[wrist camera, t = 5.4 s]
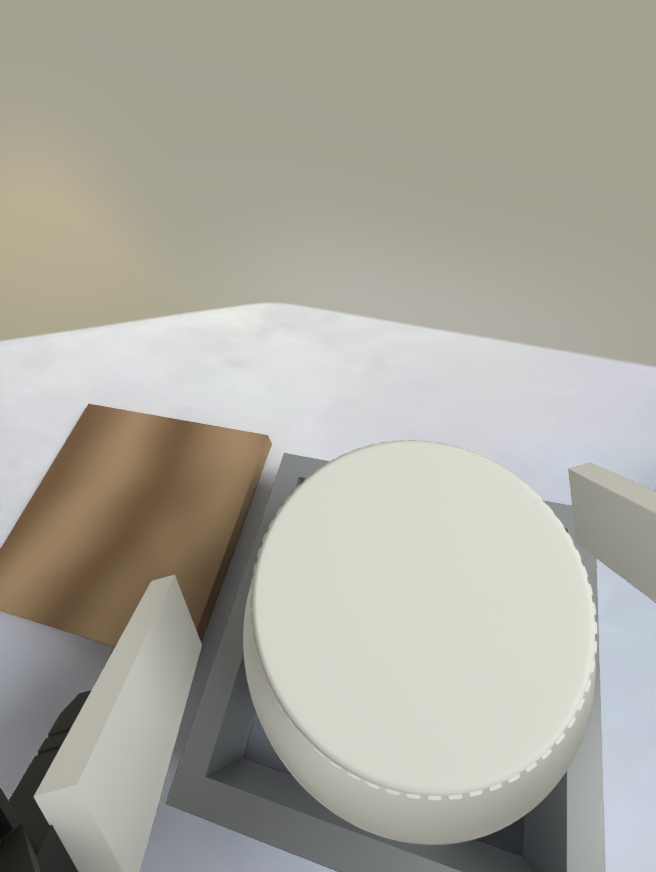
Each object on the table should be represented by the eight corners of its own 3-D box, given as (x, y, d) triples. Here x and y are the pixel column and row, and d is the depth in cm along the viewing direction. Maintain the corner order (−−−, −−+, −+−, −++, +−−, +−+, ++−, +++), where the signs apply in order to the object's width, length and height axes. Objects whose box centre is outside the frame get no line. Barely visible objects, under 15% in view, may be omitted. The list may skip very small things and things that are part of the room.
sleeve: (212, 778, 18) (165, 803, 14) (300, 490, 24) (284, 453, 20) (551, 904, 15) (608, 978, 11) (556, 542, 21) (595, 510, 17)
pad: (-16, 604, 23) (-31, 601, 22) (97, 412, 28) (88, 403, 27) (191, 668, 20) (182, 668, 19) (271, 443, 26) (267, 435, 25)
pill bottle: (274, 652, 20) (76, 588, 7) (390, 528, 22) (398, 312, 10) (407, 815, 17) (480, 1231, 4) (529, 650, 19) (831, 574, 6)
